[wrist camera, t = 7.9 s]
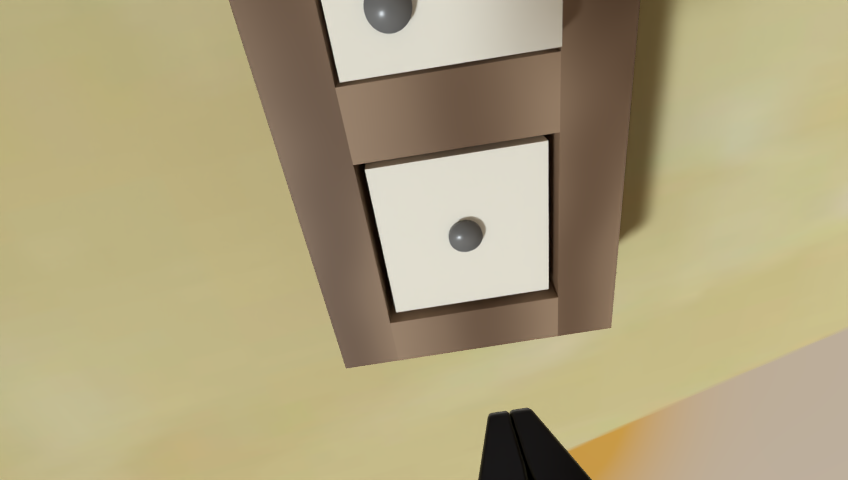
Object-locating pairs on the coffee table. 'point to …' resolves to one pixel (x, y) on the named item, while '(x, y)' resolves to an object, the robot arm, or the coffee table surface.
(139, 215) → the coffee table surface
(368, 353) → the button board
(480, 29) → the two dot tile
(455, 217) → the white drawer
